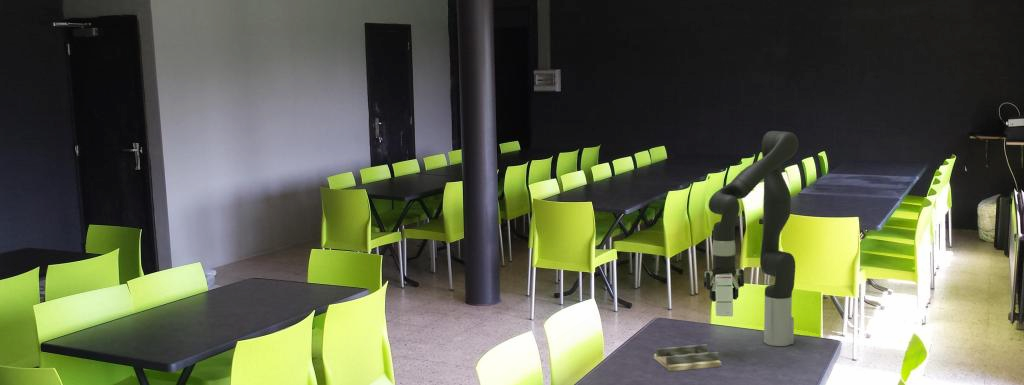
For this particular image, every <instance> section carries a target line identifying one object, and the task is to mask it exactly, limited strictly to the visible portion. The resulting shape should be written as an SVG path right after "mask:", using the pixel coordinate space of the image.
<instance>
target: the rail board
mask: <svg viewBox="0 0 1024 385" xmlns="http://www.w3.org/2000/svg"><path fill="white" fill-rule="evenodd" d="M719 353H720V352H718V351H713V352H708V344H707V343H705V344H704V343H703V344H694V345H693V344H692V345H681V346H673V347H670V346H669V347H661V348H656V352H655V353H653V358H654V360H656V362H658V363H659V364H660V365H661V366H663V367H664V368H665V369H666V370H667V371H669V372H675V371H677V372H678V371H679V372H680V371H687V370H696V369H697V370H698V369H707V368H718V367H719V368H721V367H722V361H720V360H719Z"/></svg>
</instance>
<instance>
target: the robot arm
mask: <svg viewBox="0 0 1024 385" xmlns="http://www.w3.org/2000/svg"><path fill="white" fill-rule="evenodd" d="M761 141H762V142H761V157H762V158H760V159H758V160H757V161H755V162H753V163H752V164H749V165H748V166H746V167H745V168H744V169H742V170H741V171H740V172H739V173H738V174H737V175H736V176H735V177H734V178H733V179H732V180H731V182H729V183H727V184H726V185H725V186H723V187H721V188H720V189H718V190H716V191H715V192H714V193H713V194H712V195H711V197H710V199H709V200H708V209H709V210H710V212H711V213H713V214H715V215H721V218H720V221H717V222H714V224H713V228H712V230H713V233H712V234H713V235H712V236H713V237H712V238H713V239H712V270H711V271H707V270H704V271H703V288H704V289H707V291H708V290H709V299H710V300H711V302H715V303H716V291H715V289H716V286H715V285H716V284H717V282H716V283H715V275H718V274H724V273H728V274H731V273H732V283H733V301H735V300H738V298H739V289H740V288H743V287H744V285H745V270H744V269H743V268H741V267H739V268H736V250H737V249H736V242H735V241H736V240H735V238H736V236H735V234H736V232H735V228H736V224H737V221H738V216H739V213H740V203H739V200H740V199H741V200H742V199H744V198H746V197H747V196H748V195H750V193H751V192H752V191H753V190H754V189H755V188H756V187H757V186H758V185H759V184H760V182H762V181H763V200H762V201H763V206H762V207H763V208H762V210H763V221H762V222H763V225H762V240H761V248H760V256H759V258H760V259H759V260H760V261H759V265H760V266H759V267H760V269H761V272H762V273H763V274H765V275H767V276H771V277H774V278H775V279H774V284H771V285H767V286H765V288H764V320H763V322H764V323H763V324H764V325H763V326H764V328H763V331H764V332H763V342H764V344H766V345H768V346H772V347H787V346H790V345H793V344H794V339H795V338H794V334H795V333H794V330H795V326H794V325H795V318H794V317H793V316H792V314H793V313H792V308H793V307H792V306H793V304H792V303H793V300H792V299H793V290H794V289H795V277H796V259H795V257H794V255H793V254H792V253H790V252H788V251H787V252H786V251H783V250H779V241H780V240H779V239H780V235H781V233H782V230H783V229H784V227H785V226H786V225H787V222H788V221H789V218H790V217H791V210H792V196H791V192H790V188H789V187H788V186H789V185H788V184H787V182H786V181H785V178H784V175H783V172H782V167H781V165H782V164H784V163H785V162H786V161H788V160H789V159H790V158H792V157H793V156H794V155H795V154H796V152H797V151H798V148H799V140H798V137H797V136H796V134H794V132H793V133H792V132H789V131H780V130H779V131H778V130H771V131H767V132H766V133H765V134H764V135H763V138H762V140H761ZM735 275H736V276H737V280H736V279H735ZM712 276H713V278H712ZM711 278H712V280H711Z"/></svg>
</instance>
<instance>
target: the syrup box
mask: <svg viewBox="0 0 1024 385" xmlns="http://www.w3.org/2000/svg"><path fill="white" fill-rule="evenodd" d="M716 282H717V284H716V285H715V286H716V289H715V291H716V301H715V316H716V317H734V299H733V283H732V273H731V274H728V273H724V274H718V275H715V283H716Z"/></svg>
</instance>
